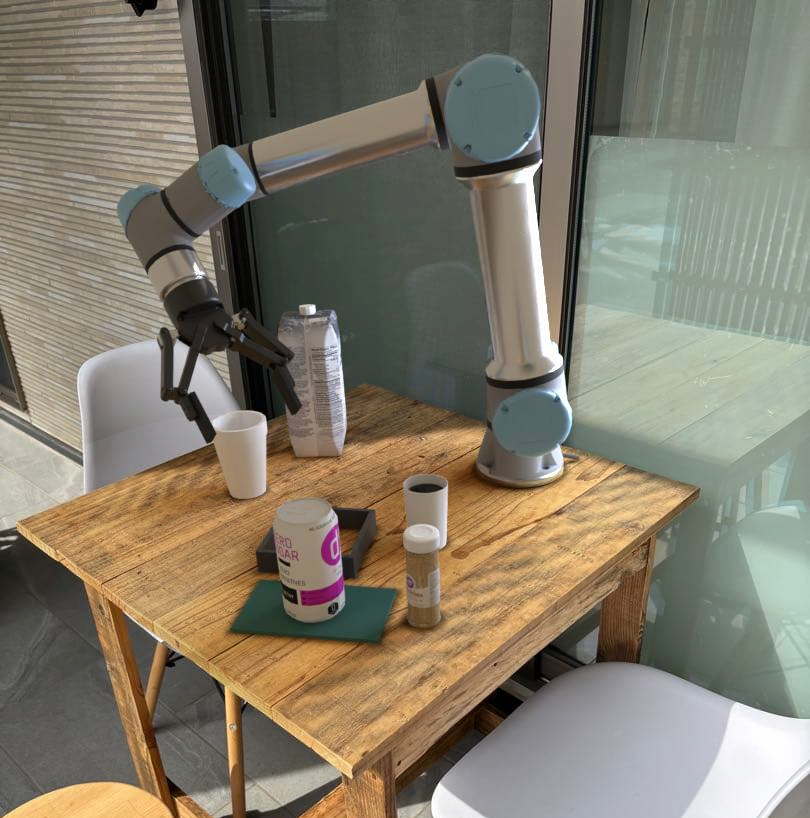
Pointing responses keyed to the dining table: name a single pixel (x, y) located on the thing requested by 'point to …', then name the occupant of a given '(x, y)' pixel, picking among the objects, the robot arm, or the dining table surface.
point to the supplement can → (309, 559)
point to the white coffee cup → (427, 502)
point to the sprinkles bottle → (422, 575)
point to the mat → (351, 624)
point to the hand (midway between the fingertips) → (255, 424)
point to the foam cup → (242, 451)
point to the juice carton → (315, 381)
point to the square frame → (346, 520)
